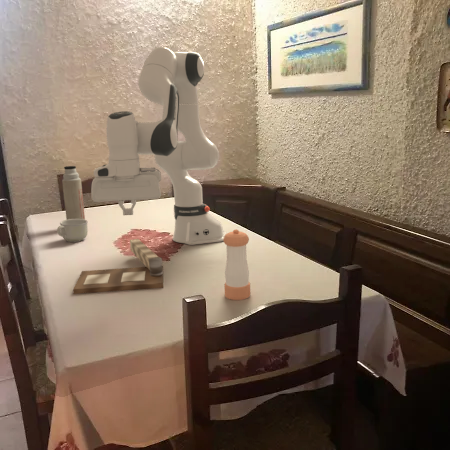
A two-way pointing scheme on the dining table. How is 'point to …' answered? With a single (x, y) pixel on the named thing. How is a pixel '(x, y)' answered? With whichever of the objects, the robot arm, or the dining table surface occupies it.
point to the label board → (117, 280)
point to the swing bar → (146, 256)
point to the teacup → (73, 229)
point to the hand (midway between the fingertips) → (128, 214)
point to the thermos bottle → (73, 194)
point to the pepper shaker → (236, 266)
